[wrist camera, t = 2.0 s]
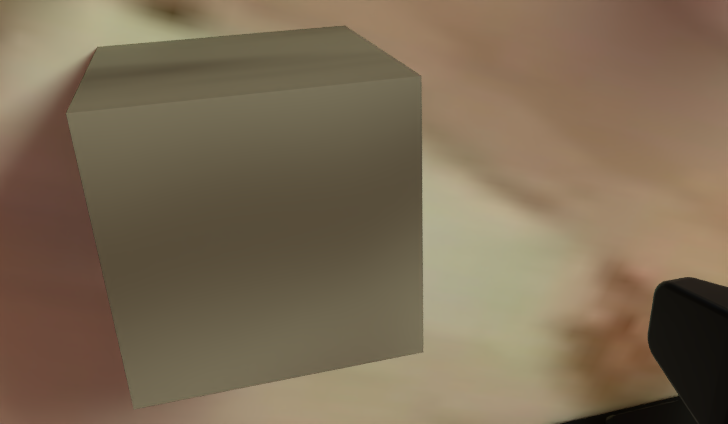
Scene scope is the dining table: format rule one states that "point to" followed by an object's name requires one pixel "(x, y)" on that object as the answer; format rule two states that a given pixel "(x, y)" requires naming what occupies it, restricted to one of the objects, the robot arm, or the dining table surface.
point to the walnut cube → (253, 206)
